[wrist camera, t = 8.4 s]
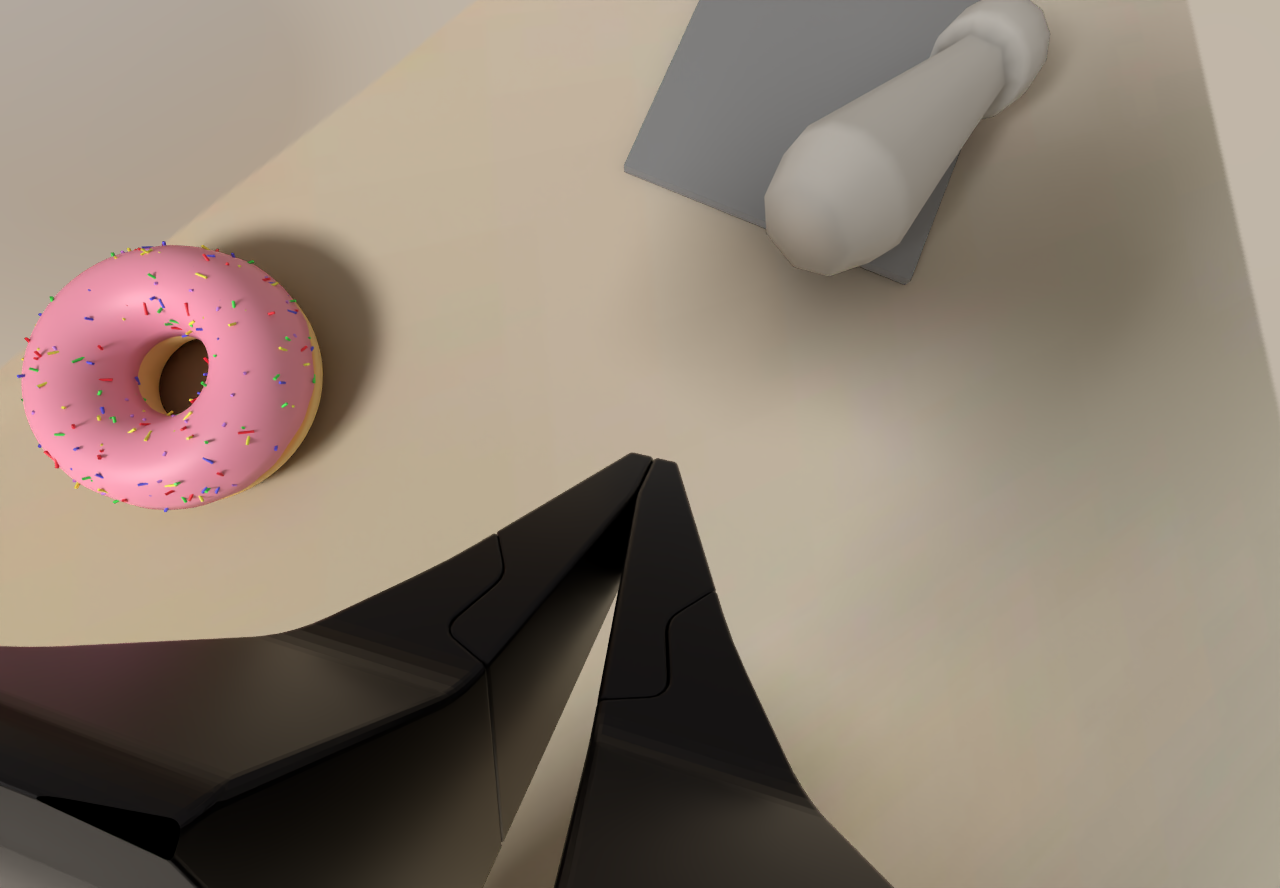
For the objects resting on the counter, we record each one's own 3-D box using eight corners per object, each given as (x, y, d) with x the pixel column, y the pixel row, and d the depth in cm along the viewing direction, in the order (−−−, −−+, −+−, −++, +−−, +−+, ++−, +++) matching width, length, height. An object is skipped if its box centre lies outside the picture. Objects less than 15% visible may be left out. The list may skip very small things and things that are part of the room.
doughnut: (47, 395, 23) (-84, 373, 19) (226, 223, 24) (139, 165, 20) (215, 561, 22) (118, 575, 18) (393, 376, 23) (340, 350, 19)
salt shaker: (828, 314, 22) (1005, 139, 24) (900, 241, 17) (1122, 21, 19) (732, 225, 23) (914, 61, 25) (771, 126, 17) (1001, -77, 19)
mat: (904, 284, 23) (910, 280, 23) (624, 171, 24) (624, 164, 23) (1029, -39, 25) (1037, -50, 25) (765, -138, 26) (768, -151, 25)
